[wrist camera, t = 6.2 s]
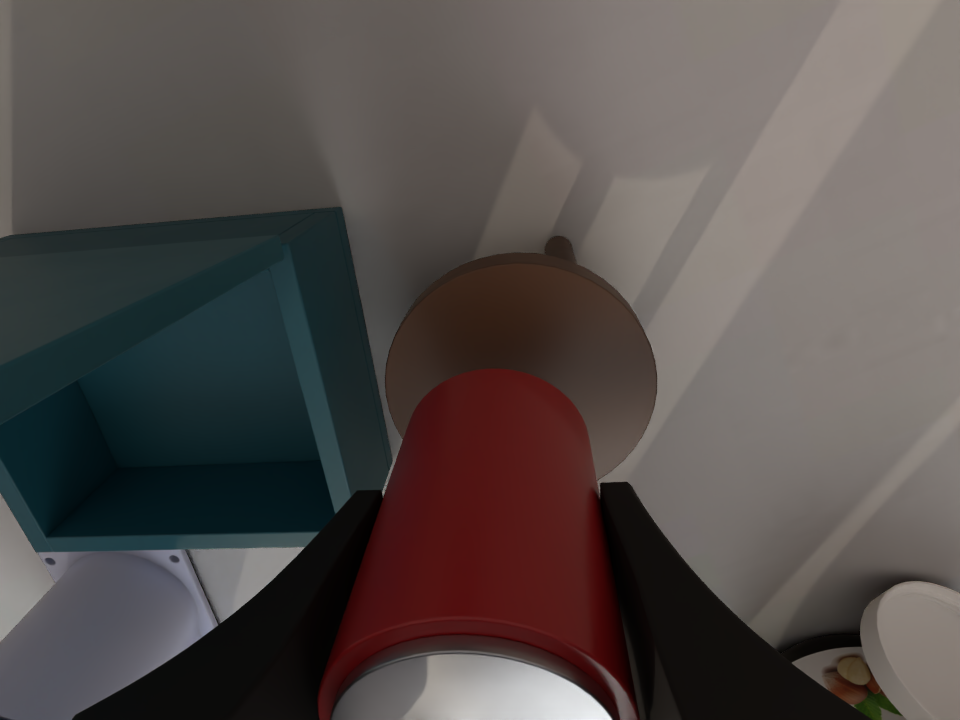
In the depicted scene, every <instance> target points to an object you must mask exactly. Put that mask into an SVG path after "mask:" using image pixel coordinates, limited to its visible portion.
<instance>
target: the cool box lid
mask: <svg viewBox="0 0 960 720" xmlns="http://www.w3.org/2000/svg"><path fill="white" fill-rule="evenodd" d="M283 259H284V254H283V250H282V246H281V241H280V237H279V235H269V236H257V237H245V238H233V239H220V240H208V241H196V242H184V243H171V244H159V245H147V246H135V247H122V248H110V249H98V250H86V251H73V252H61V253H49V254H37V255H24V256H12V257H0V425H1V424H3V423H4V422H6V421H8V420H9V419H11V418H13V417H15V416H16V415H18V414H20V413H21V412H23V411H25V410H27V409H28V408H30V407H32V406H33V405H35V404H37V403H39V402H40V401H42V400H44V399H45V398H47V397H49V396H50V395H52V394H54V393H56V392H57V391H59V390H61V389H62V388H64V387H66V386H68V385H69V384H71V383H73V382H74V381H76V380H78V379H80V378H81V377H83V376H85V375H86V374H88V373H90V372H92V371H93V370H95V369H97V368H98V367H100V366H102V365H104V364H105V363H107V362H109V361H110V360H112V359H114V358H116V357H117V356H119V355H121V354H122V353H124V352H126V351H128V350H129V349H131V348H133V347H134V346H136V345H138V344H140V343H141V342H143V341H145V340H146V339H148V338H150V337H151V336H153V335H155V334H157V333H158V332H160V331H162V330H163V329H165V328H167V327H169V326H170V325H172V324H174V323H175V322H177V321H179V320H181V319H182V318H184V317H186V316H187V315H189V314H191V313H193V312H194V311H196V310H198V309H199V308H201V307H203V306H205V305H206V304H208V303H210V302H211V301H213V300H215V299H217V298H218V297H220V296H222V295H223V294H225V293H227V292H229V291H230V290H232V289H234V288H235V287H237V286H239V285H240V284H242V283H244V282H246V281H247V280H249V279H251V278H252V277H254V276H256V275H258V274H259V273H261V272H263V271H264V270H266V269H268V268H270V267H271V266H273V265H275V264H276V263H278V262H280V261H282V260H283Z"/></svg>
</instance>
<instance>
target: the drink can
mask: <svg viewBox="0 0 960 720" xmlns="http://www.w3.org/2000/svg"><path fill="white" fill-rule="evenodd" d="M317 705H318V716H319V720H640V716H639V710H638V705H637V699H636V694H635V688H634V682H633V677H632V671H631V666H630V660H629V655H628V649H627V644H626V638H625V633H624V627H623V622H622V616H621V611H620V605H619V600H618V594H617V589H616V583H615V578H614V572H613V567H612V561H611V556H610V550H609V545H608V540H607V535H606V530H605V524H604V519H603V513H602V507H601V502H600V495H599V490H598V484H597V479H596V473H595V468H594V462H593V457H592V451H591V446H590V440H589V435H588V431H587V427H586V425H585V422H584V420H583V418H582V416H581V414H580V413H579V411H578V409H577V408H576V406H575V405H574V404H573V403H572V402H571V400H570V399H569V398H568V397H567V396H566V395H564V394H563V393H562V392H561V391H560V390H559V389H557V388H556V387H554V386H553V385H551V384H550V383H548V382H546V381H544V380H542V379H540V378H538V377H536V376H533V375H530V374H527V373H524V372H520V371H516V370H509V369H480V370H474V371H470V372H465V373H462V374H459V375H457V376H454V377H452V378H450V379H448V380H446V381H444V382H442V383H440V384H439V385H438V386H436V387H435V388H433V389H432V390H431V391H430V392H429V393H428V394H427V395H426V396H424V398H423V399H422V400H421V401H420V403H419V404H418V405H417V407H416V408H415V410H414V412H413V414H412V416H411V418H410V421H409V424H408V426H407V429H406V432H405V435H404V438H403V441H402V444H401V447H400V450H399V453H398V456H397V459H396V462H395V465H394V468H393V471H392V474H391V477H390V479H389V482H388V485H387V488H386V491H385V494H384V497H383V500H382V503H381V506H380V509H379V512H378V515H377V518H376V521H375V524H374V527H373V530H372V532H371V535H370V538H369V541H368V544H367V547H366V550H365V553H364V556H363V559H362V562H361V565H360V568H359V571H358V574H357V577H356V580H355V583H354V585H353V588H352V591H351V594H350V597H349V600H348V603H347V606H346V609H345V612H344V615H343V618H342V621H341V624H340V627H339V630H338V633H337V636H336V638H335V641H334V644H333V647H332V650H331V653H330V656H329V659H328V662H327V665H326V668H325V671H324V674H323V677H322V680H321V683H320V686H319V691H318V697H317Z"/></svg>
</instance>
